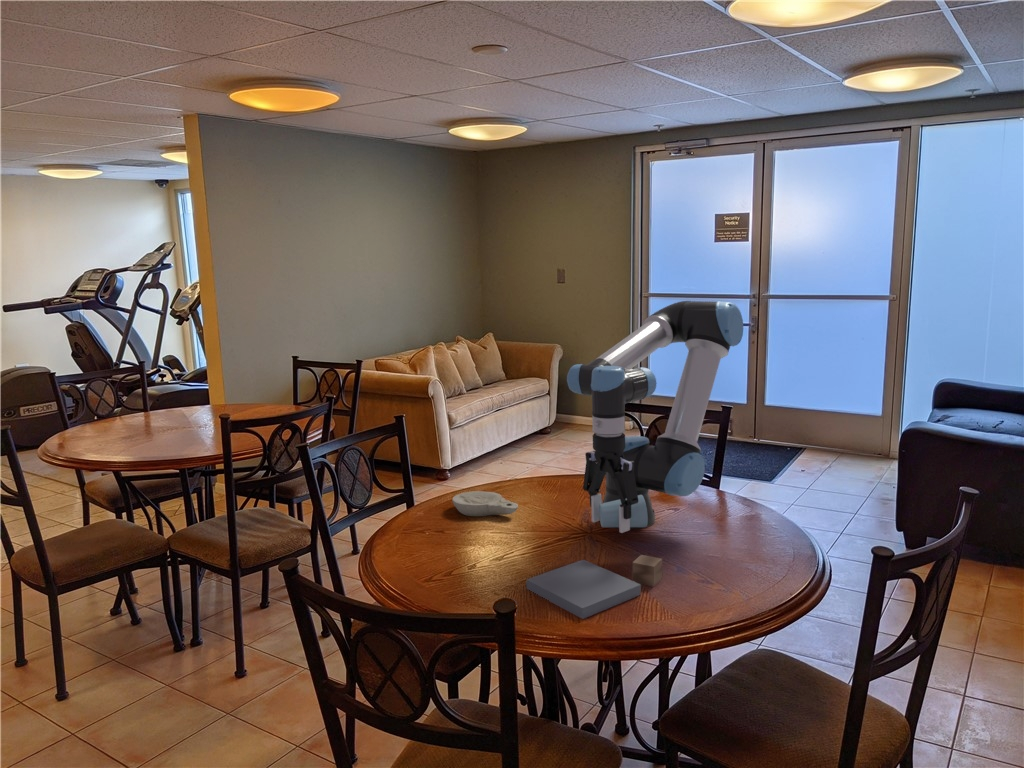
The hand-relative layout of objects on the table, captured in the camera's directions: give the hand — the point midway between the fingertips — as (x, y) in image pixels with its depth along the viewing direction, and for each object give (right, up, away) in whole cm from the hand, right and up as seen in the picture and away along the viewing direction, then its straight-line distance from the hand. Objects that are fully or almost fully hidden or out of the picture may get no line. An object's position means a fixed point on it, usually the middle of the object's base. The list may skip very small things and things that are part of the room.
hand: (610, 525), depth 175 cm
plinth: (-8, -12, -15) cm, 21 cm away
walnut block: (+7, -11, -10) cm, 16 cm away
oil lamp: (-30, -4, +37) cm, 48 cm away
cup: (-1, -2, +1) cm, 2 cm away
